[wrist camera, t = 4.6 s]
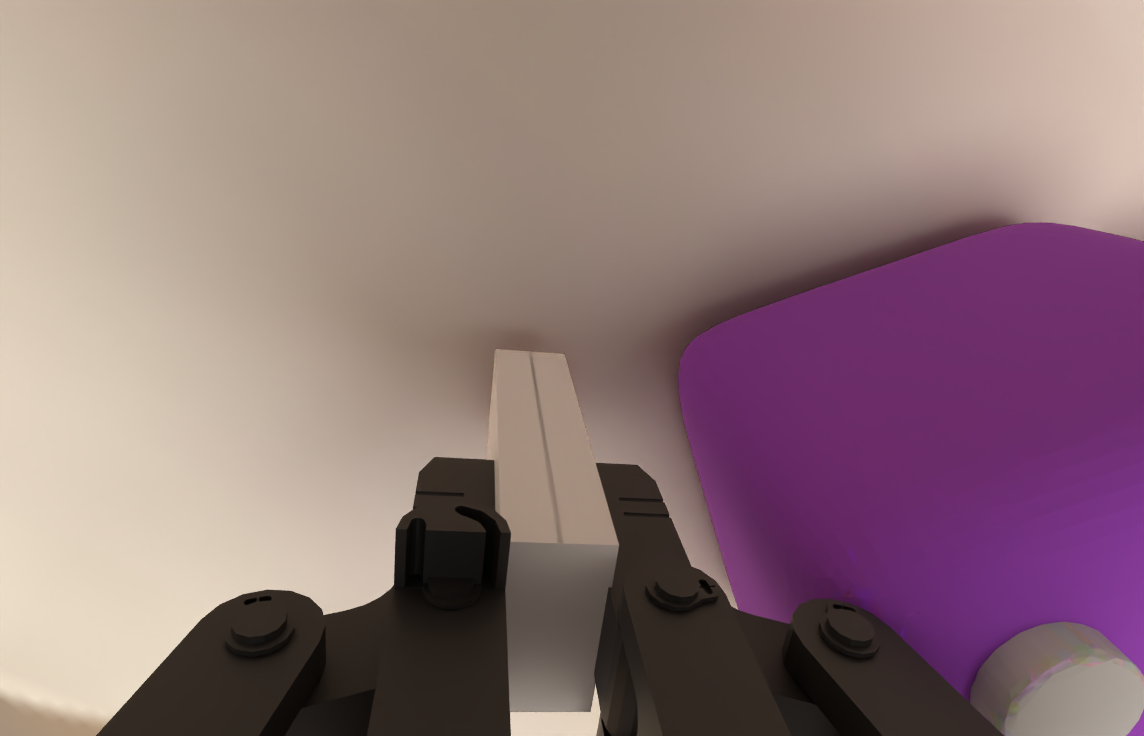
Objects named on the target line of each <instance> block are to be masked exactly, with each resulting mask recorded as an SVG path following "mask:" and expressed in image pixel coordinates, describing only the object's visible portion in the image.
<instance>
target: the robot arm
mask: <svg viewBox="0 0 1144 736" xmlns="http://www.w3.org/2000/svg"><path fill="white" fill-rule="evenodd" d="M595 683H596V688H597V694H598V699H599V705H600V710H601V713H600V719H599V725H598V730H597V736H1004V735H1003V734H1002V733H1001V732H1000V731H999V730H998V729H997V728H996V727H995V726H993V725H992V724H991V723H990V722H989V721H988V720H987V719H986V718H985V717H984V716H983V715H982V714H981V713H980V712H979V711H978V710H977V709H976V708H975V707H974V706H972V705H971V704H970V703H969V702H968V701H967V700H966V699H965V698H964V697H963V696H962V695H961V694H960V693H959V692H958V691H957V690H956V689H955V688H954V687H953V686H951V685H950V684H949V683H948V682H947V681H946V680H945V679H944V678H943V677H942V676H941V675H940V674H939V673H938V672H937V671H936V670H935V669H934V668H933V667H932V666H930V665H929V664H928V663H927V662H926V661H925V660H924V659H923V658H922V657H921V656H920V655H919V654H918V653H917V652H916V651H915V650H914V649H913V648H912V647H911V646H909V645H908V644H907V643H906V642H905V641H904V640H903V639H902V638H901V637H900V636H899V635H898V634H897V633H896V632H895V631H894V630H893V629H892V628H891V627H889V626H888V625H887V624H885V623H884V622H883V621H882V620H880V619H879V618H878V617H876V616H875V615H874V614H872V613H870V612H868V611H866V610H864V609H862V608H859V607H857V606H855V605H853V604H850V603H846V602H842V601H838V600H834V599H812V600H809V601H807V602H804V603H802V604H799V606H798V607H797V609H796V610H795V612H794V613H793V615H792V618H791V621H790V624H788V623H784V622H780V621H776V620H772V619H768V618H764V617H760V616H756V615H752V614H749V613H746V612H743V611H740V610H737V609H735V608H733V607H731V605H730V603H729V601H728V598H727V596H726V594H725V593H724V591H723V590H722V589H721V587H720V586H719V585H718V583H717V582H716V581H715V580H714V579H712V578H711V577H709V576H708V575H707V574H705V573H704V572H702V571H701V570H699V569H696V568H693V567H691V564H690V562H689V560H688V557H687V555H686V553H685V550H684V548H683V546H682V543H681V541H680V538H679V536H678V534H677V531H676V529H675V527H674V524H673V522H672V519H671V518H669V512H668V510H667V508H666V505H665V503H663V498H662V496H661V493H660V491H659V489H658V486H657V484H656V482H655V480H653V479H652V478H651V477H650V476H649V475H648V474H647V473H646V472H644V471H643V470H642V469H641V468H640V467H639V466H638V465H627V464H607V463H595V459H594V456H593V452H592V449H591V445H590V442H589V438H588V435H587V431H586V428H585V424H584V421H583V417H582V414H581V410H580V407H579V403H578V400H577V396H576V393H575V389H574V386H573V382H572V379H571V375H570V372H569V368H568V365H567V361H566V358H565V354H559V353H545V352H531V351H518V350H504V349H495V358H494V370H493V382H492V393H491V405H490V417H489V429H488V441H487V453H486V460H483V459H462V458H442V457H434V458H433V459H432V460H431V461H430V462H429V463H428V464H427V465H426V466H425V467H424V468H423V469H422V470H421V471H420V472H419V476H418V482H417V488H416V495H415V499H414V505H413V510H412V511H410V512H409V513H407V514H406V515H405V516H403V517H402V519H401V521H400V523H399V524H398V526H397V528H396V541H395V572H394V586H393V587H392V588H391V589H390V590H389V591H388V592H386V593H385V594H384V595H382V596H381V597H380V598H378V599H376V600H374V601H372V602H370V603H368V604H366V605H363V606H360V607H357V608H353V609H350V610H346V611H342V612H337V613H332V614H327V615H323V612H322V609H321V608H320V607H319V606H318V605H317V604H316V603H315V602H314V601H313V600H312V599H311V598H309V597H306V596H304V595H301V594H298V593H295V592H292V591H283V590H264V591H258V592H253V593H248V594H243V595H241V596H238V597H236V598H234V599H231V600H229V601H227V602H225V603H222V604H220V605H219V606H217V607H216V608H215V609H214V610H212V611H211V612H210V613H209V614H207V615H206V616H205V617H204V618H202V619H201V620H200V621H199V623H198V624H197V625H196V626H195V627H194V628H193V629H192V630H191V631H190V632H189V634H188V635H187V636H186V637H185V638H184V639H183V640H182V641H181V642H180V644H179V645H178V646H177V647H176V648H175V649H174V650H173V651H172V652H171V653H170V655H169V656H168V657H167V658H166V659H165V660H164V661H163V662H162V663H161V665H160V666H159V667H158V668H157V669H156V670H155V671H154V672H153V673H152V674H151V676H150V677H149V678H148V679H147V680H146V681H145V682H144V683H143V684H142V686H141V687H140V688H139V689H138V690H137V691H136V692H135V693H134V694H133V695H132V697H131V698H130V699H129V700H128V701H127V702H126V703H125V704H124V705H123V707H122V708H121V709H120V710H119V711H118V712H117V713H116V714H115V715H114V716H113V718H112V719H111V720H110V721H109V722H108V723H107V724H106V725H105V726H104V728H103V729H102V730H101V731H100V732H99V733H98V734H97V735H96V736H511V729H510V712H591V706H592V700H593V695H594V689H595Z"/></svg>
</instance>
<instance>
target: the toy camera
mask: <svg viewBox="0 0 1144 736" xmlns="http://www.w3.org/2000/svg"><path fill="white" fill-rule="evenodd" d="M678 386H679V397H680V403H681V409H682V415H683V419H684V424H685V428H686V432H687V435H688V439H689V443H690V447H691V450H692V454H693V458H694V461H695V465H696V468H697V471H698V475H699V478H700V482H701V485H702V489H703V492H704V495H705V499H706V502H707V506H708V509H709V513H710V516H711V520H712V523H713V526H714V530H715V533H716V537H717V540H718V544H719V547H720V550H721V554H722V557H723V561H724V564H725V568H726V571H727V574H728V578H729V581H730V585H731V588H732V591H733V594H734V597H735V600H736V603H737V606H738V609H739V610H740V611H743V612H746V613H749V614H752V615H756V616H760V617H764V618H768V619H772V620H776V621H780V622H784V623H788V624H790V621H791V618H792V615H793V613H794V612H795V610H796V609H797V607H798V606H799V604H802V603H804V602H807V601H809V600H812V599H834V600H838V601H842V602H846V603H850V604H853V605H855V606H857V607H859V608H862V609H864V610H866V611H868V612H870V613H872V614H874V615H875V616H876V617H878V618H879V619H880V620H882V621H883V622H884V623H885V624H887V625H888V626H889V627H891V628H892V629H893V630H894V631H895V632H896V633H897V634H898V635H899V636H900V637H901V638H902V639H903V640H904V641H905V642H906V643H907V644H908V645H909V646H911V647H912V648H913V649H914V650H915V651H916V652H917V653H918V654H919V655H920V656H921V657H922V658H923V659H924V660H925V661H926V662H927V663H928V664H929V665H930V666H932V667H933V668H934V669H935V670H936V671H937V672H938V673H939V674H940V675H941V676H942V677H943V678H944V679H945V680H946V681H947V682H948V683H949V684H950V685H951V686H953V687H954V688H955V689H956V690H957V691H958V692H959V693H960V694H961V695H962V696H963V697H964V698H965V699H966V700H967V701H968V702H969V703H970V704H971V705H972V706H974V707H975V708H976V709H977V710H978V711H979V712H980V713H981V714H982V715H983V716H984V717H985V718H986V719H987V720H988V721H989V722H990V723H991V724H992V725H993V726H995V727H996V728H997V729H998V730H999V731H1000V732H1001V733H1002V734H1003V735H1004V736H1144V241H1140V240H1136V239H1131V238H1127V237H1123V236H1119V235H1114V234H1110V233H1105V232H1100V231H1096V230H1091V229H1086V228H1081V227H1077V226H1071V225H1063V224H1056V223H1022V224H1015V225H1009V226H1004V227H1001V228H997V229H993V230H990V231H986V232H982V233H979V234H975V235H971V236H968V237H965V238H962V239H960V240H957V241H954V242H951V243H948V244H945V245H942V246H939V247H936V248H933V249H930V250H927V251H924V252H921V253H918V254H915V255H912V256H909V257H906V258H903V259H900V260H898V261H895V262H892V263H889V264H886V265H883V266H880V267H877V268H874V269H871V270H868V271H865V272H862V273H859V274H856V275H853V276H850V277H847V278H844V279H841V280H838V281H836V282H833V283H830V284H827V285H824V286H821V287H818V288H815V289H812V290H809V291H806V292H803V293H800V294H797V295H795V296H792V297H789V298H786V299H783V300H780V301H778V302H775V303H772V304H769V305H766V306H764V307H761V308H758V309H755V310H752V311H749V312H747V313H744V314H741V315H739V316H736V317H734V318H732V319H729V320H727V321H724V322H722V323H720V324H718V325H716V326H714V327H712V328H710V329H709V330H707V331H705V332H703V333H702V334H700V335H698V336H697V337H696V338H695V339H694V340H693V341H692V342H690V343H689V345H688V346H687V347H686V348H685V350H684V352H683V354H682V357H681V360H680V365H679V375H678Z"/></svg>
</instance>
